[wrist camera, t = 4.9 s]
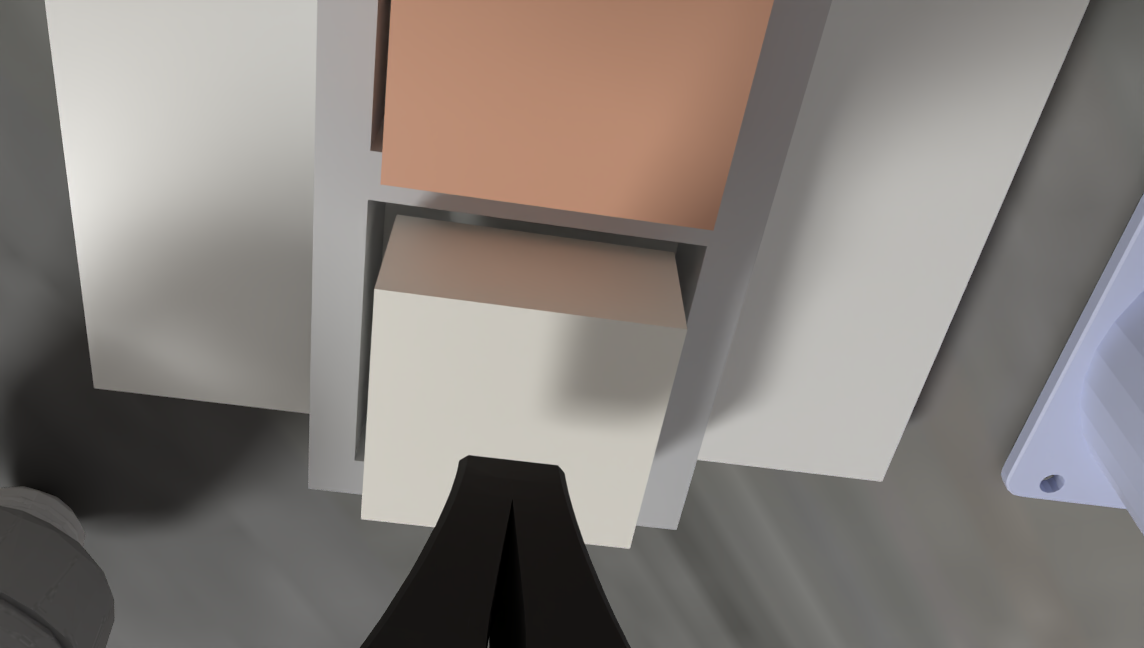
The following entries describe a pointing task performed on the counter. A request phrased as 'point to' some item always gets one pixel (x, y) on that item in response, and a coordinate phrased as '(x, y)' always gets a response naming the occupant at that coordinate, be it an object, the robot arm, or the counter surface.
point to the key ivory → (518, 367)
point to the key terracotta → (572, 102)
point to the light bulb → (48, 576)
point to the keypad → (544, 216)
